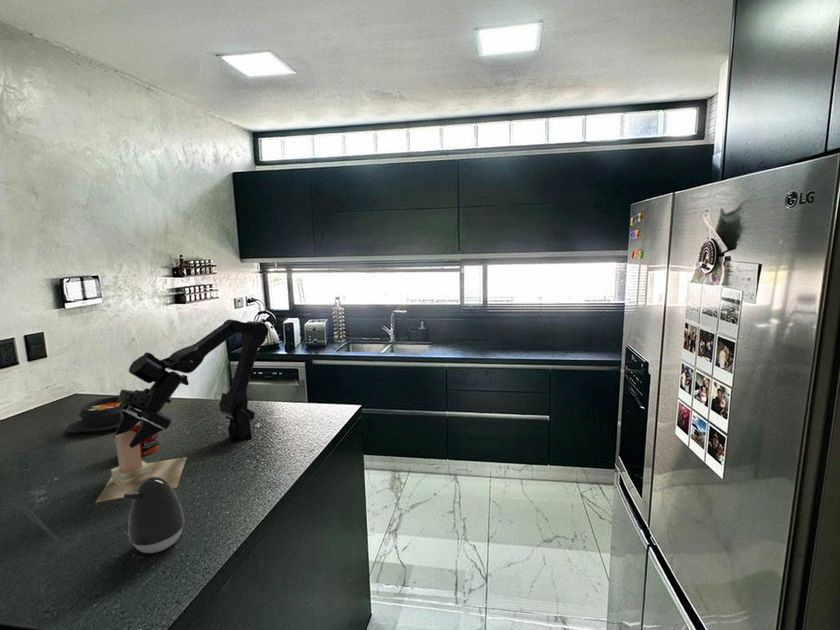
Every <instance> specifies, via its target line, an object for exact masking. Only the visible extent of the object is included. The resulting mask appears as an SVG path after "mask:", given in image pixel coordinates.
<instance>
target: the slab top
mask: <svg viewBox="0 0 840 630" xmlns="http://www.w3.org/2000/svg"><path fill="white" fill-rule="evenodd" d="M148 463H149V462H146V461H144V460H142V467H140V468H138V469H135V470H132V471H130V472H127V473H125V472H124V471H122V470H120V469H119V466H115V467H114V468H111V469H110V472H111V477H112V476H113V477H115V478H116V479H118V480H119V481H121V482H122V483H125V482H127V481H130V480H132V479H135V478H137V477H140V476H142V475H145V474H147V473H150V472H152V469H151V465H149V464H148Z"/></svg>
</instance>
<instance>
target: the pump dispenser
mask: <svg viewBox="0 0 840 630" xmlns="http://www.w3.org/2000/svg"><path fill="white" fill-rule="evenodd" d="M123 499H124V500H132V502H131V506H130V510H129V516H128V525H127V527H128V528H127V529H128V531H127V532H128V539H129V542H130V543H131V544H132V545H133V546H134V547H135V549H137V551H139V552H141V553H143V554H144V553H145V554H155V553H158V552H162V551H164V550H166V549H168V548H170V547H172V545H174V544H175V543H176V542H177V541H178V539H180V536H181V534H182V532H183V527H184V526H185V514H184V511H183V507H182V505H181V503H180V500H179V498H178V495H177V494H176V492H175V490H174V488H171V486H170V485H169V484H168V483H167V482H166V481H165V480H164V479H162V478H160V477H151V478H148V479H146V480H145V481H143V482H142V483H141V484H140V485H139V487H138V489H137V491H136V492H132V493H126V494H124V497H123Z"/></svg>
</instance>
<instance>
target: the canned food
mask: <svg viewBox="0 0 840 630" xmlns="http://www.w3.org/2000/svg"><path fill="white" fill-rule="evenodd" d="M137 418H139V419H140V417H138V416H137ZM141 419H143V420H145V421H146V420H147V419H144V418H143V417H142V418H141ZM139 428H140V422H138V423H137V424H136V425H135V426H134V427H132V428H131V429H130V430H129V431H131V430H132V431H134V432H136V433H137V431H138V429H139ZM158 433H159V432H158ZM158 433H156V434H154V435H153V436H151V437H149V438H148V439H146V440H144V441H143V442H141V443H140V444H139V445H140V453H141V457H143V456H148V455H151V454H153V453H155V452H157V451H158V450H159V449H160V441H159V435H158Z"/></svg>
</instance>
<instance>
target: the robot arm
mask: <svg viewBox="0 0 840 630" xmlns="http://www.w3.org/2000/svg"><path fill="white" fill-rule="evenodd" d="M236 333H237V334H240V341H241V344H242V346H241V347H242V348H241V351H240V355H239V359H238V361H237V365H236V369H235V373H234V376H233V380H232V383H231V387H230V389H229V390H228V391H227V392H226V393H225V392H222V394H221V395H220V397H221V398H220V401H219V402H218V406H219V412H220V413H221V414H222V415H223V416H225V418H226V420H229V423H228V426H227V430H228V438H229V439H230V442H238V441H244V440H250V439H252V438H253V430H252V422H251V421H253V420H254V419H255V415H256V414H255V412H254V411H252V410H251V409H249V408H248V406H249V405H248V403H249V399H248V394H247V390H248V387H249V384H250V383H249V382H250V379H251V376H252V371H253V368H254V366H255V365H254V364H255V361H256V357H257V354H258V351H259V349H260V348H261V347H262V345H263V344H264V343H265V341H266V339H267V336H268V334H269V328H268V325H266V324H265V323H264V322H258V321H251V320H249V321H247V322H243V321H239V320H237V319H232V318H229V319H226V320H225V321H224V322H223V323H222V324H221V325H219V326H218V327H216V328H215V329H214V330H212V331H211V332H209V333H208V334H207V335H205V336H204V337H202V339H200V340H198V341H197V342H195V343H194V344H191V345H188V346H185V347H183V348H181V349H179V350H178V349H177V350H176V351H174V352H172V353H171V355H169V356H168V357H165V358H163V359H158V358H157V357H156V356H155V355H153V354H152V353H151V352H147V351H146V352H145V353H144V354H143V355H141V356H139V357H138V358H137V359H135V360H134V361H133V362H132V363H131V365H129V368H128V373H130V374H131V375H132V376H134V377H136V378H138V379H140V380H141V381H143V382H145V383H147V384H151V383H153V384H151V386H150V387H149V388H148V387H147V388H144V389H143V390H138V389H136V390H128V389H120V392H119V395H118V396H119V397H118V396H117V397H118V400H117V401H118V402H119V401H120V402H121V403H120V404H119V406H118V407H120V408H122V410H121V409H119V411H120V414H121V420H120V423H119V425H118V428H116V431H115V433H114V436H113V438H114V439H115V435H119V434H122V433H125V432H128V431H129V430H130V429H131V428H132V427H134V426H135V425H136V424H137V423H138V422H140V428H139V429H138V431H137V433H136V434H135V436H134V438H133V439H132V441H131V443H130V445H129V446H130V447H132V448H133V447H135V446H137V445H138V444H140V443H141V442H143V441H144V440H146V439H148V438H149V437H151V436H153V435H154V434H156V433H160V432H163V431H164V429H165V430H168V428H169V427H170V426H171V424H172V419H171V418H170V417H169V416H167V415H165V414H163V413H161V411H162V409H163V408H164V407H165V405H166V404H171V402H172V400H171V397H172V396H173V394H174V393H175V391H176V390H177V389H178V387H179V386H180V385H183V386H189V384H190V383H189V380H188V375H186V374H190V373H193V372H194V371H195V370H197V368H198V367H199V366H200V365H201V364H202V363H203V361H204V359H205V357H206V356H208V355H209V353H211V352H212V351H214V350H215V349H216V348H218V347H219V346H220V345H222V344H223V343H224V342H225V341H227V340H229V339H230V338H231V337H233V335H235V334H236ZM166 369H167V370H166ZM168 370H171V371H168ZM178 372H179V373H183V374H182V375H181V374H179V373H178ZM137 416H138V417H140V419H139V418H137ZM142 417H143V418H144V419H147V420H146V421H145V420H143V419H141V418H142Z"/></svg>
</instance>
